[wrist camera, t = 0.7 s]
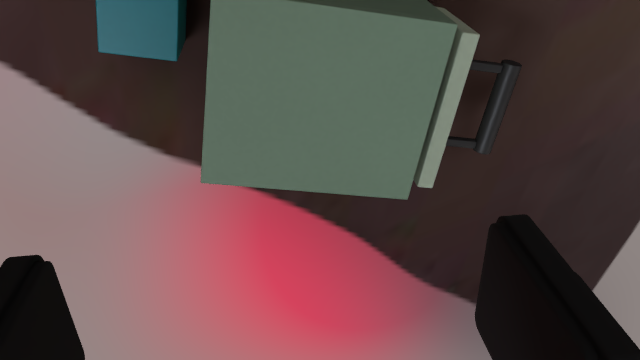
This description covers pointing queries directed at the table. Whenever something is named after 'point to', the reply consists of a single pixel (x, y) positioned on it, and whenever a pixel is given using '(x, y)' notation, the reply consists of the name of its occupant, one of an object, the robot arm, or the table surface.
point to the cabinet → (321, 93)
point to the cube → (142, 27)
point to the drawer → (451, 96)
